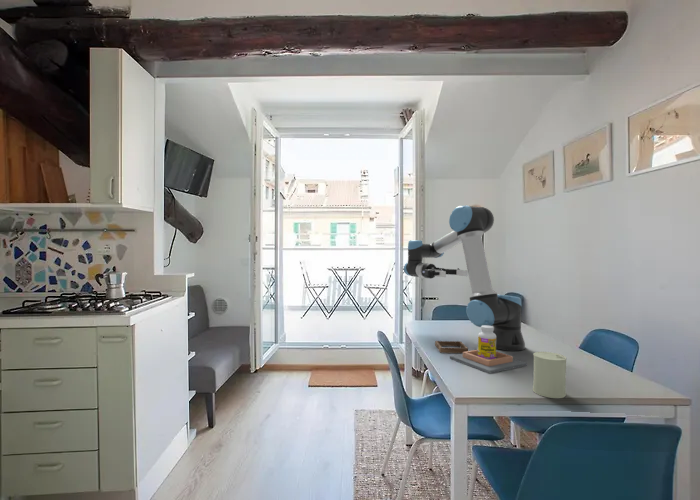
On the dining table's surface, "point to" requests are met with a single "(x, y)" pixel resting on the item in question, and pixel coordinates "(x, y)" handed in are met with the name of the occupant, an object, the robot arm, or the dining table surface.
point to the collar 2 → (499, 360)
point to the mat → (488, 368)
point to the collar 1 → (450, 343)
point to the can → (549, 374)
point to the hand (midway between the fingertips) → (456, 273)
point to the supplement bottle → (487, 343)
